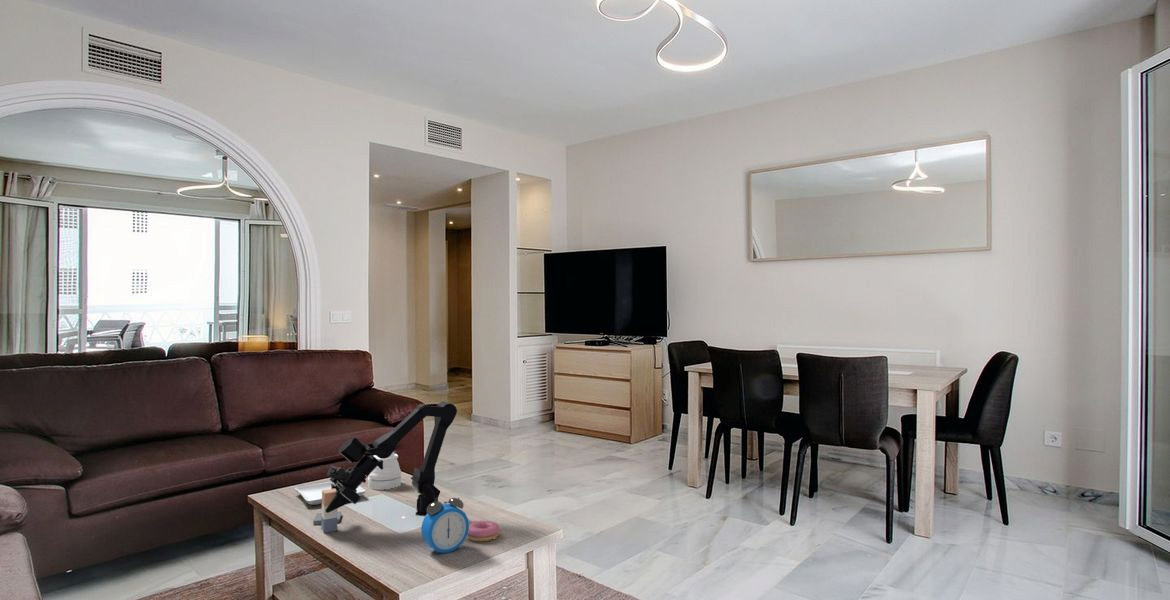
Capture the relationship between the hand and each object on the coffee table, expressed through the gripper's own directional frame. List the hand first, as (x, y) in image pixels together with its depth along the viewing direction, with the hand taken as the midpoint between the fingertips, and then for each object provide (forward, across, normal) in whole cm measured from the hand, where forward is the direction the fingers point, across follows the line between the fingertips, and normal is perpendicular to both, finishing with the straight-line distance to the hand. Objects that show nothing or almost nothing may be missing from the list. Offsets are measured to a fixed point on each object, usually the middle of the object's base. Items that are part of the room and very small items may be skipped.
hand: (324, 510), depth 202 cm
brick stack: (+4, 0, +6) cm, 7 cm away
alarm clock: (-14, +35, +24) cm, 45 cm away
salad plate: (-1, -37, +11) cm, 39 cm away
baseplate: (+3, -10, +7) cm, 12 cm away
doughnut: (-24, +31, +34) cm, 52 cm away
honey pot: (-17, -42, +27) cm, 52 cm away
